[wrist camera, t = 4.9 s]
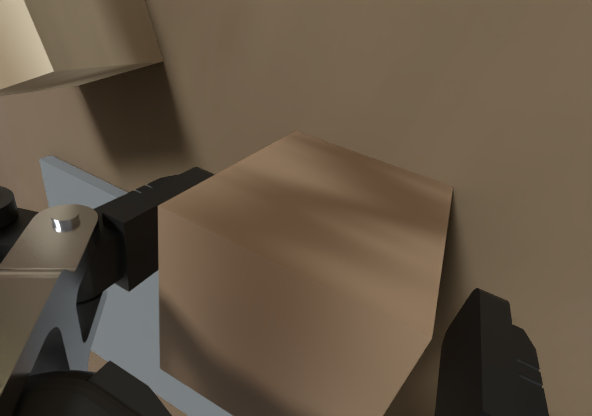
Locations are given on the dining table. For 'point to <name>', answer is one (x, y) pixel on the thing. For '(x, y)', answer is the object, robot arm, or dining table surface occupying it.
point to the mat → (124, 301)
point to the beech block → (72, 42)
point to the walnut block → (300, 280)
